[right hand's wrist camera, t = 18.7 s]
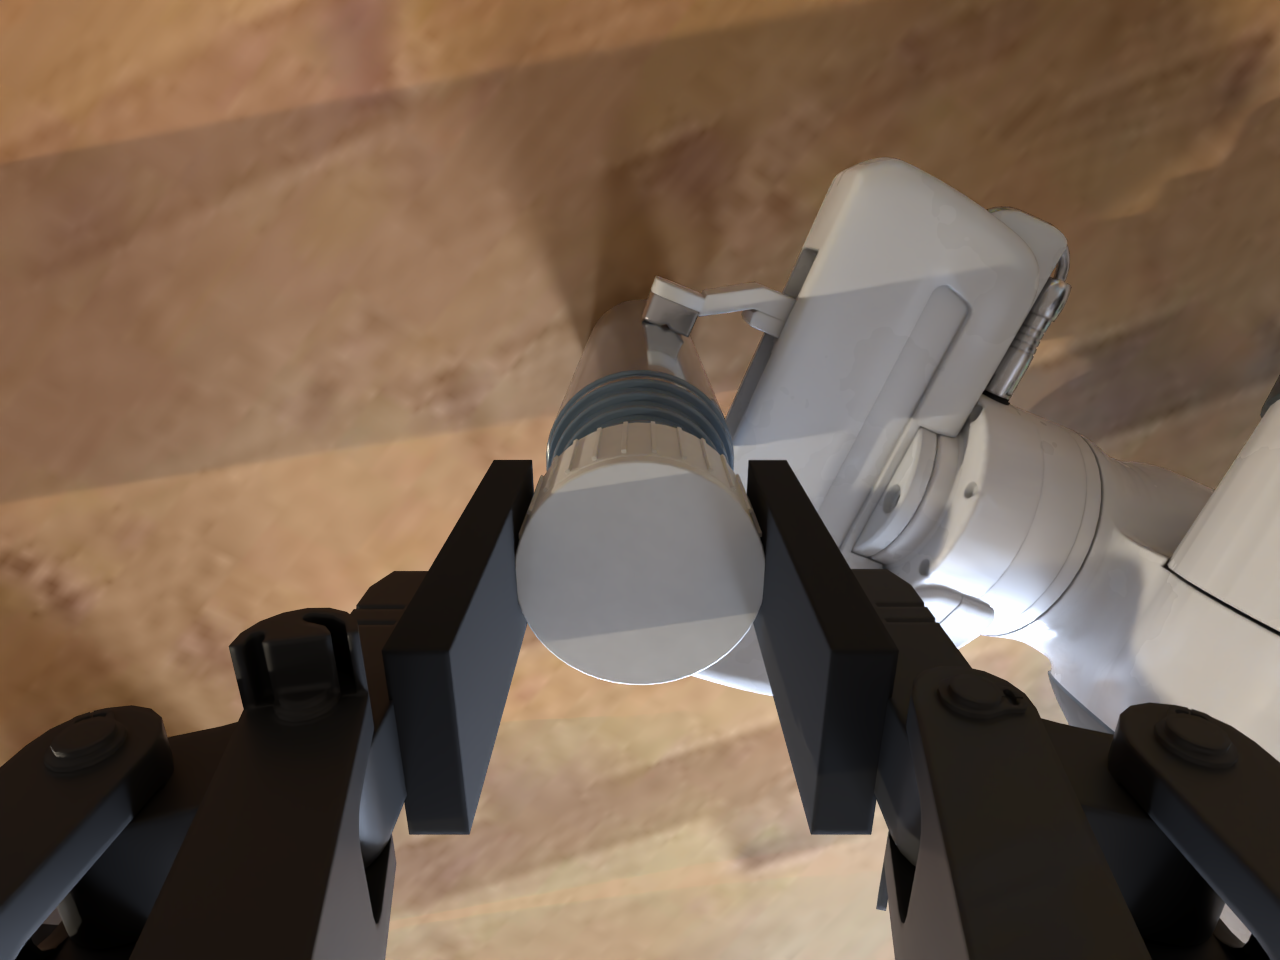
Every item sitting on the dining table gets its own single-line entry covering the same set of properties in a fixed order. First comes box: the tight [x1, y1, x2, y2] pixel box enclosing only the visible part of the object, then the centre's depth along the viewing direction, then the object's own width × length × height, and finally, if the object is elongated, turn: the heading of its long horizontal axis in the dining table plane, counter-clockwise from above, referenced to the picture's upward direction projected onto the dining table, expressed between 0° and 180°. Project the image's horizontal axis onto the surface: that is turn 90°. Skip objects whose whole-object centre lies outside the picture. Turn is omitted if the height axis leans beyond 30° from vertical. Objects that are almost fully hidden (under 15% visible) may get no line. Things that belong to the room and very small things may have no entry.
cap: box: [515, 421, 765, 685], centre depth 13 cm, size 4×4×2 cm
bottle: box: [546, 300, 734, 472], centre depth 22 cm, size 5×5×21 cm
